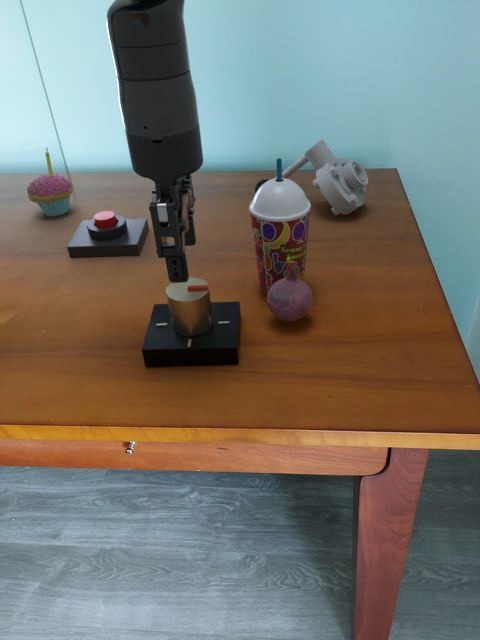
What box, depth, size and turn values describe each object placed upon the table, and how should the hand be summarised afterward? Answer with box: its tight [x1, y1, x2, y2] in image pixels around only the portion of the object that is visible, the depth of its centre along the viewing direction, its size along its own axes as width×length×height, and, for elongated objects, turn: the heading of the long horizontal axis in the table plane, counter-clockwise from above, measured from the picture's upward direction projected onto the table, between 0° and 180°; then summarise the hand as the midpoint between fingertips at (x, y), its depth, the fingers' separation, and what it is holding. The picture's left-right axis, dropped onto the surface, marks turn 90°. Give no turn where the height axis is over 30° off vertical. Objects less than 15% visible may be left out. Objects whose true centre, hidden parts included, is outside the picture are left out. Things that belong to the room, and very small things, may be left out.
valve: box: [254, 138, 369, 216], centre depth 101 cm, size 10×20×15 cm
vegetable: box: [266, 257, 314, 322], centre depth 71 cm, size 6×6×10 cm
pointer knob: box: [165, 277, 213, 336], centre depth 68 cm, size 5×5×6 cm
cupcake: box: [26, 146, 74, 217], centre depth 101 cm, size 9×8×12 cm
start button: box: [93, 210, 117, 228], centre depth 91 cm, size 4×4×2 cm
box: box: [66, 213, 150, 259], centre depth 93 cm, size 12×10×4 cm
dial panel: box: [141, 300, 242, 368], centre depth 70 cm, size 12×10×3 cm
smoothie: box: [248, 157, 312, 297], centre depth 74 cm, size 8×8×20 cm
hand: (183, 261), depth 63 cm, fingers open, 8 cm apart
